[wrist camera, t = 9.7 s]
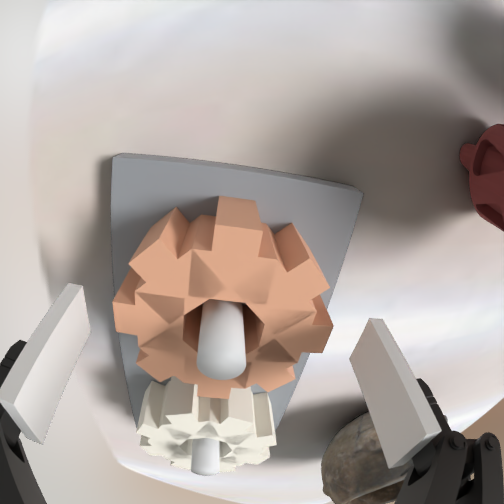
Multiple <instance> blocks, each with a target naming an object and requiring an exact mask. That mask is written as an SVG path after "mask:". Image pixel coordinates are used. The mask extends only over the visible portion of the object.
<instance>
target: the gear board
mask: <svg viewBox="0 0 504 504" xmlns="http://www.w3.org/2000/svg"><path fill="white" fill-rule="evenodd" d="M363 194H364V193H362V192H361V191H360V190H358V189H357V188H355V187H354V186H350V185H345V184H341V183H336V182H331V181H326V180H322V179H317V178H311V177H306V176H301V175H296V174H290V173H285V172H279V171H273V170H267V169H261V168H255V167H248V166H241V165H234V164H227V163H220V162H212V161H204V160H196V159H187V158H177V157H167V156H156V155H144V154H130V153H121V154H119V155H117V156H114V157H113V161H112V182H111V246H112V268H113V283H114V295H115V296H116V294H117V292H118V290H119V288H120V287H121V285H122V283H123V281H124V279H125V277H126V276H127V274H128V272H129V270H130V269H131V266H130V265H129V264H128V263H129V262H130V260H131V258H132V257H133V255H134V253H135V252H136V250H137V248H138V247H139V245H140V244H141V242H142V240H143V239H144V237H145V236H146V234H147V232H148V231H149V229H150V228H151V227H152V226H153V225H154V224H155V223H157V222H158V221H159V220H160V219H162V218H163V217H164V216H165V215H167V214H168V213H169V212H170V211H172V210H173V209H174V208H175V207H177V208H178V210H179V211H180V212H181V213H182V214H183V215H184V217H185V218H186V219H187V220H188V221H189V223H191V222H192V221H193V220H195V219H196V218H197V217H199V216H200V215H209V216H216V214H217V207H218V200H219V196H226V197H234V198H241V199H248V200H255V201H256V205H257V209H258V213H259V217H260V221H261V223H266V224H267V225H268V226H269V228H270V229H271V230H272V232H273V233H274V234H276V233H277V232H279V231H280V230H282V229H283V228H285V227H286V226H288V225H289V224H291V223H293V225H294V226H295V228H296V229H297V230H298V232H299V233H300V235H301V236H302V238H303V239H304V241H305V242H306V244H307V245H308V247H309V248H310V250H311V252H312V254H313V256H314V257H315V259H316V261H317V263H318V265H319V267H320V269H321V271H322V273H323V275H324V277H325V279H326V281H327V282H328V284H329V286H330V288H329V289H327V290H326V291H324V292H323V293H321V294H320V296H321V298H322V300H323V303H324V305H325V307H326V309H327V308H328V305H329V302H330V299H331V297H332V294H333V291H334V288H335V285H336V282H337V279H338V276H339V273H340V270H341V267H342V264H343V261H344V258H345V255H346V252H347V249H348V246H349V242H350V239H351V236H352V233H353V229H354V226H355V222H356V219H357V216H358V212H359V208H360V205H361V201H362V198H363ZM202 304H203V309H202V317H201V326H200V334H199V344H198V353H197V367H198V369H199V371H200V372H201V373H202V374H204V375H205V376H207V377H209V378H212V379H216V380H228V379H232V378H235V377H237V376H239V375H240V374H242V373H243V371H244V370H245V368H246V355H245V339H244V324H243V308H242V307H243V306H244V305H246V303H243V302H233V301H225V300H216V299H209V300H207V301H205V302H204V303H202ZM119 339H120V346H121V353H122V359H123V365H124V371H125V377H126V382H127V387H128V392H129V397H130V402H131V406H132V411H133V415H134V419H135V424H136V428H137V426H138V421H139V416H140V412H141V407H142V402H143V398H144V394H145V391H146V389H147V388H148V386H149V385H150V383H151V381H154V382H157V383H159V384H162V385H164V386H166V384H167V383H168V382H169V381H171V377H170V378H168V379H166V380H164V381H162V382H159V381H158V380H156V379H155V378H154V377H152V376H151V375H150V374H149V373H147V372H146V371H145V370H143V369H142V368H141V367H140V366H138V365H137V364H136V361H137V358H138V354H139V351H140V348H139V347H138V337H137V335H132V334H126V333H120V332H119ZM309 355H310V353H305V352H302V353H301V356H300V358H299V361H298V363H296V364H294V365H293V369H294V374H295V378H296V379H295V380H293V381H291V382H289V383H287V384H285V385H282V386H280V387H278V388H276V389H274V390H272V391H270V392H267V391H265V390H264V389H263V388H262V387H260V386H259V385H258V384H257V383H256V384H254V385H252V386H251V391H252V393H253V394H259V393H264V392H267V393H268V396H269V399H270V402H271V406H272V413H273V421H274V428H275V431H276V429H277V427H278V425H279V423H280V421H281V419H282V417H283V415H284V412H285V410H286V408H287V406H288V404H289V401H290V399H291V397H292V395H293V392H294V390H295V388H296V386H297V383H298V381H299V379H300V376H301V374H302V372H303V369H304V367H305V364H306V362H307V360H308V357H309ZM191 471H192V472H193V473H195V474H198V475H204V476H212V475H216V474H218V473H219V472H220V464H219V441H218V440H214V439H210V438H198V439H193V442H192V459H191Z"/></svg>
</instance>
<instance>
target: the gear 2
mask: <svg viewBox="0 0 504 504" xmlns="http://www.w3.org/2000/svg"><path fill="white" fill-rule="evenodd" d="M197 390H198V385H197V384H188V383H183V382H182V381H181V380H179V379H178V378H177V377H175V376H172V377H171V381H169V382H168V383H167V384H166V386H164V385H162V384H159V383H157V382H154V381H151V383H150V385H149V386H148V388H147V389H146V391H145V394H144V398H143V402H142V407H141V412H140V416H139V421H138V426H137V431H136V433H138V434H140V435H142V436H141V441H140V447H141V448H142V449H144V450H145V451H146V452H147V453H148V454H149V455H150V456H163V457H164V458H165V459H166V460H170V461H171V466H174V467H178V468H182V469H186V470H191V459H192V442H193V439H198V438H210V439H214V440H218V441H219V464H220V472H231V471H236V466H242V465H244V464H245V463H250V464H256V465H258V464H260V463H262V462H263V461H265V460H266V459H268V458H270V451H269V446H275V445H277V443H276V435H275V428H274V421H273V413H272V406H271V402H270V399H269V396H268V393H267V392H264V393H259V394H253V393H252V391H251V386H250V387H248V388H246V389H241V388H231V391H230V396H229V399H221V398H210V397H200V396H197Z"/></svg>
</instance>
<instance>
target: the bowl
mask: <svg viewBox="0 0 504 504" xmlns="http://www.w3.org/2000/svg"><path fill="white" fill-rule="evenodd" d="M444 417H445V419H446V421H447V417H446V416H445V415H444ZM412 464H413V461H412V458H411V459H410V460H409V461H408V462H406V463H405V464H404V465H401V466H398V467H394V468H390V469H389V468H388V465H387V462H386V459H385V456H384V453H383V450H382V447H381V444H380V441H379V438H378V435H377V432H376V429H375V426H374V424H373V421H372V418H371V415H370V412H367V413H365V414H363V415H360V416H359V417H358V418H356V419H355V420H353V421H352V422H350V423H349V424H347V425H346V426H345V427H343V428H342V429H341V430H340V431H339V432H338V433H337V434H336V435H335V437H334V438H333V440H332V441H331V443H330V444H329V446H328V447H327V449H326V451H325V453H324V456H323V458H322V463H321V473H322V480H323V485H324V486H323V492H324V494H325V495H327V496H329V497H330V498H331V499H332V501H333V502H334V503H335V504H386V503H390V502H394V501H396V499H397V497H398V494H399V492H400V490H401V488H402V485H403V483H404V480H405V477H406V475H407V473H408V472H407V473H406V474H404V475H403V476H400V475H401V473H402V472H403V471H404V470H405V469H407V468H408V467H409V466H410V465H412Z"/></svg>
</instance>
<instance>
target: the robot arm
mask: <svg viewBox="0 0 504 504" xmlns="http://www.w3.org/2000/svg"><path fill="white" fill-rule="evenodd" d="M90 333H91V329H90V324H89V319H88V313H87V308H86V302H85V296H84V290H83V285H77V284H72V283H68V284H67V286H66V287H65V288H64V290H63V291H62V292H61V294H60V295H59V296H58V298H57V299H56V301H55V302H54V303H53V305H52V306H51V308H50V309H49V310H48V312H47V313H46V315H45V316H44V318H43V319H42V321H41V322H40V324H39V325H38V327H37V328H36V330H35V331H34V333H33V334H32V336H31V337H30V339H29V340H28V342H25V341H21V340H19V341H18V342H16V343H15V344H14V345H13V346H11V347H10V349H9V350H8V352H7V354H6V355H5V358H3V360H2V362H1V363H0V504H47V503H46V501H45V499H44V497H43V495H42V493H41V490H40V488H39V486H38V484H37V482H36V479H35V477H34V475H33V472H32V470H31V467H30V465H29V463H28V460H27V457H26V454H25V452H24V449H23V446H22V443H21V440H20V439H19V434H20V432H22V433H23V434H24V435H25V437H26V438H28V439H30V440H32V441H34V442H37V443H39V444H42V445H43V443H44V440H45V438H46V435H47V432H48V429H49V427H50V424H51V421H52V419H53V416H54V414H55V411H56V408H57V406H58V403H59V401H60V399H61V396H62V394H63V392H64V389H65V387H66V385H67V382H68V380H69V377H70V375H71V373H72V371H73V369H74V367H75V364H76V362H77V360H78V358H79V356H80V354H81V352H82V349H83V347H84V345H85V343H86V341H87V339H88V337H89V335H90ZM349 359H350V362H351V364H352V367H353V370H354V372H355V375H356V377H357V380H358V383H359V385H360V388H361V391H362V393H363V396H364V399H365V401H366V404H367V407H368V410H369V412H370V415H371V418H372V421H373V424H374V426H375V429H376V432H377V435H378V438H379V441H380V444H381V447H382V450H383V453H384V456H385V459H386V462H387V465H388V468H389V469H390V468H394V467H398V466H401V465H404V464H405V463H406V462H408V461H409V460H410V459H411V458H412V461H413V464H412V465H410V466H409V467H408V468H407V469H405V470H404V471H403V472H402V473H401V475H400V476H403V475H404V474H406V473H407V472H408V473H407V475H406V477H405V480H404V483H403V485H402V488H401V490H400V492H399V494H398V497H397V499H396V501H395V504H504V487H503V469H502V458H501V449H500V443H499V440H498V439H497V437H496V436H495V435H494V434H492V433H484V434H483V435H482V436H481V437H480V438H478V439H465V437H464V436H463V435H462V434H461V433H459V432H457V431H451V429H450V427H449V425H448V423H447V421H446V419H445V417H444V415H443V413H442V411H441V409H440V407H439V405H438V404H437V401H436V399H435V398H434V397H433V394H432V392H431V390H430V388H429V386H428V385H427V384H426V383H425V382H424V381H423V380H422V379H421V378H420V379H416V378H415V376H414V374H413V372H412V370H411V369H410V367H409V365H408V363H407V361H406V359H405V358H404V356H403V354H402V352H401V350H400V349H399V347H398V345H397V343H396V341H395V340H394V338H393V336H392V334H391V333H390V331H389V329H388V328H387V326H386V324H385V322H384V321H383V319H372V318H369V320H368V322H367V324H366V327H365V329H364V331H363V333H362V335H361V337H360V339H359V341H358V343H357V345H356V347H355V349H354V351H353V353H352V355H351V356H350V358H349ZM473 473H474V479H473V480H471V478H470V475H472V474H473Z"/></svg>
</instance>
